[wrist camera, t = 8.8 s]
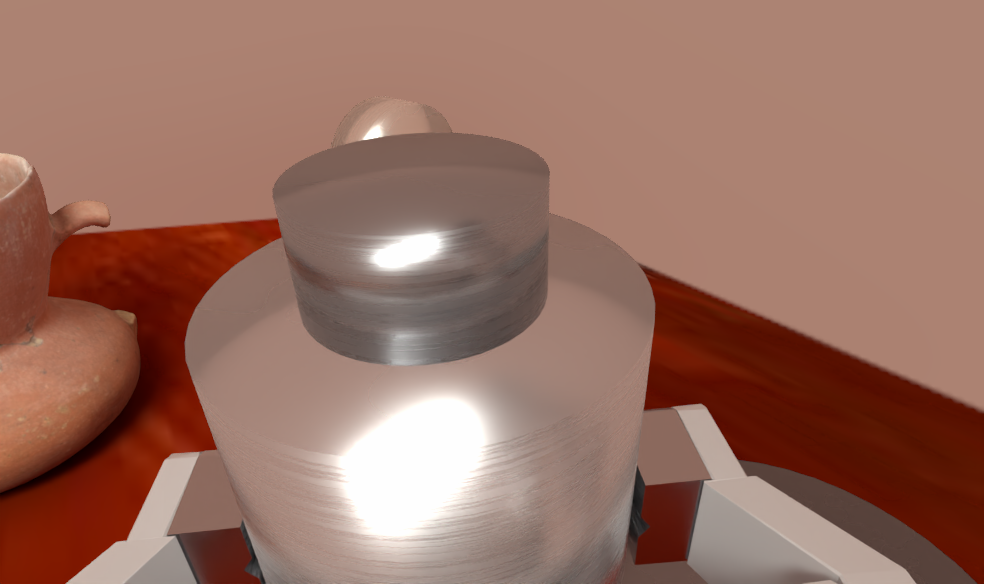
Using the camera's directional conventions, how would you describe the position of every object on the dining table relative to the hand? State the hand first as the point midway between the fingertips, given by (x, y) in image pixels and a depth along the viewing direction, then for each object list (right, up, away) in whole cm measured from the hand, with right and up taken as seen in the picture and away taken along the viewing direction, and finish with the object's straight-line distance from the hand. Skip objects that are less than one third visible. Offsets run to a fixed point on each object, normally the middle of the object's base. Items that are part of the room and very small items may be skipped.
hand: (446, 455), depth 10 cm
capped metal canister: (0, -6, +3) cm, 6 cm away
